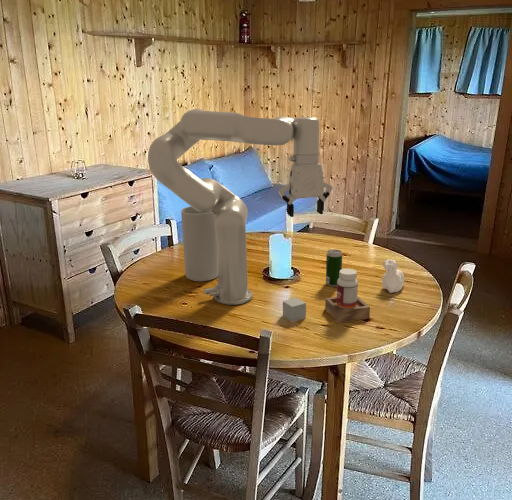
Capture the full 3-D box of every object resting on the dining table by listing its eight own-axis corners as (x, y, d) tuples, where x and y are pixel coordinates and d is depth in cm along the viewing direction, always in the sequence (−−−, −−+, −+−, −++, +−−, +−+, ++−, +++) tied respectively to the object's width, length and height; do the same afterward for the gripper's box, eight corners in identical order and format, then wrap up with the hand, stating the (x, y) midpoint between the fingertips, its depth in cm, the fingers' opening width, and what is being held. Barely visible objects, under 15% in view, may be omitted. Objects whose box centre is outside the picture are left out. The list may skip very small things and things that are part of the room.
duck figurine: (398, 289, 183) (382, 261, 184) (416, 280, 178) (398, 251, 179) (383, 300, 174) (365, 270, 175) (401, 291, 169) (382, 261, 170)
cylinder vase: (216, 268, 200) (213, 204, 192) (222, 280, 188) (219, 212, 180) (183, 271, 197) (179, 207, 189) (187, 283, 185) (183, 215, 177)
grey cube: (292, 322, 155) (292, 306, 154) (282, 316, 159) (282, 301, 158) (305, 318, 158) (306, 303, 156) (296, 312, 162) (296, 297, 160)
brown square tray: (338, 322, 154) (339, 311, 153) (325, 309, 163) (325, 298, 162) (369, 318, 157) (369, 306, 155) (354, 304, 166) (354, 294, 165)
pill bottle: (334, 302, 162) (335, 268, 158) (353, 301, 162) (355, 267, 159) (339, 311, 156) (340, 275, 152) (359, 309, 156) (361, 274, 153)
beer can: (332, 288, 179) (333, 255, 175) (322, 283, 183) (323, 251, 179) (344, 284, 182) (345, 252, 178) (334, 280, 186) (335, 248, 182)
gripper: (282, 163, 151) (283, 220, 157) (337, 159, 156) (336, 215, 161) (274, 159, 158) (275, 214, 164) (327, 156, 163) (326, 209, 168)
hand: (305, 214), depth 162 cm, fingers open, 9 cm apart
